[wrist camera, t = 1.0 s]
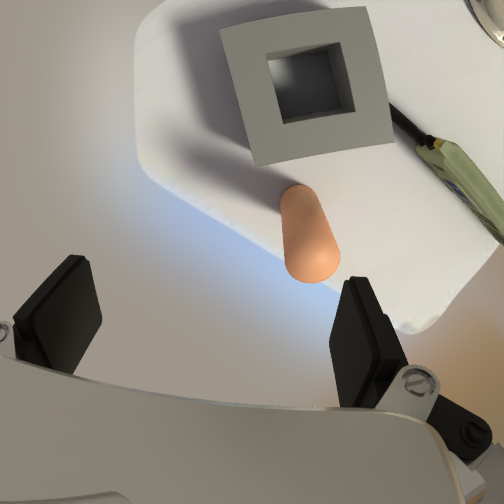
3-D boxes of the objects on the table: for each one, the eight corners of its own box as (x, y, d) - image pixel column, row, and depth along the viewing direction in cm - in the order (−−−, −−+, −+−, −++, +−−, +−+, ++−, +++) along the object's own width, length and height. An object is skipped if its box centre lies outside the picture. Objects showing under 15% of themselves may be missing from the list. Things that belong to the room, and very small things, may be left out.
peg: (314, 181, 32) (336, 229, 22) (320, 216, 34) (342, 277, 23) (276, 189, 33) (279, 240, 22) (284, 224, 35) (290, 287, 24)
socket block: (348, 20, 24) (365, 6, 19) (373, 132, 29) (394, 142, 24) (227, 41, 26) (218, 29, 20) (257, 154, 31) (255, 167, 26)
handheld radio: (496, 244, 34) (371, 119, 29) (509, 226, 33) (388, 95, 28) (523, 268, 28) (397, 124, 23) (538, 247, 27) (417, 95, 22)
